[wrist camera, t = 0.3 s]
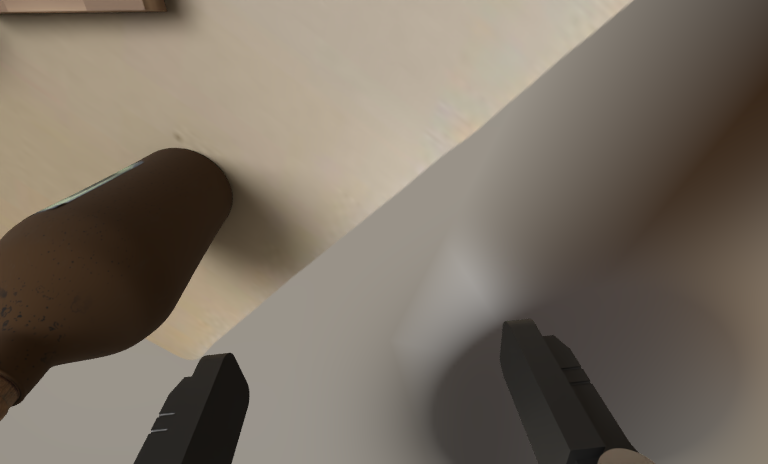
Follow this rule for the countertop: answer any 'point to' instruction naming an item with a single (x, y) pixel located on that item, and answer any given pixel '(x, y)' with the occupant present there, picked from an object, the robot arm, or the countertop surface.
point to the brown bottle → (104, 265)
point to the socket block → (80, 6)
